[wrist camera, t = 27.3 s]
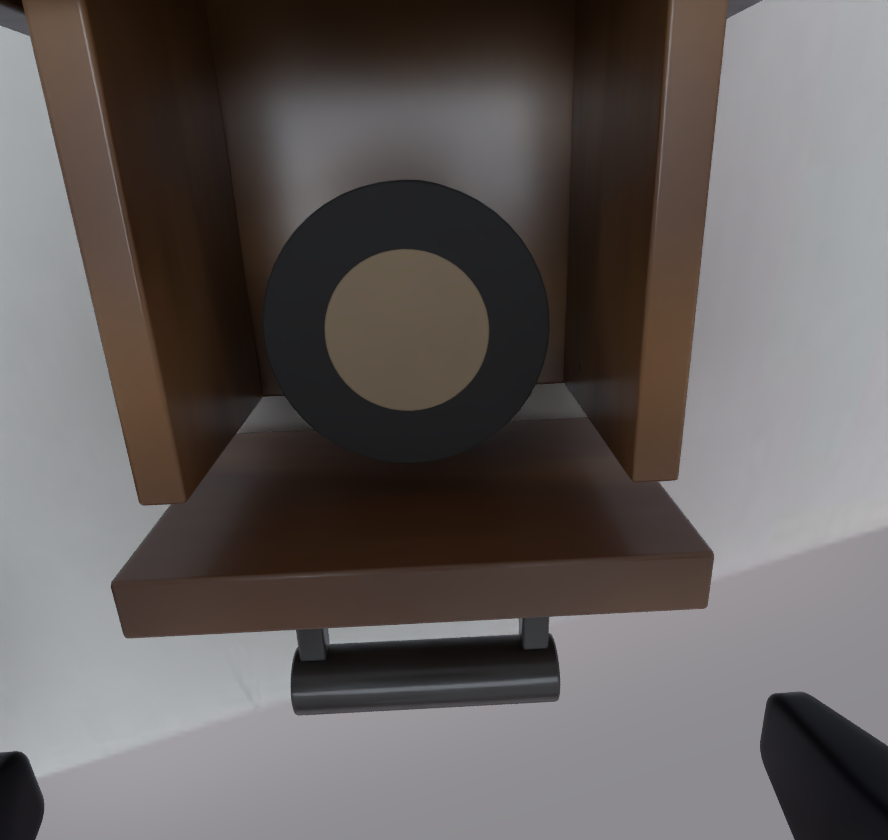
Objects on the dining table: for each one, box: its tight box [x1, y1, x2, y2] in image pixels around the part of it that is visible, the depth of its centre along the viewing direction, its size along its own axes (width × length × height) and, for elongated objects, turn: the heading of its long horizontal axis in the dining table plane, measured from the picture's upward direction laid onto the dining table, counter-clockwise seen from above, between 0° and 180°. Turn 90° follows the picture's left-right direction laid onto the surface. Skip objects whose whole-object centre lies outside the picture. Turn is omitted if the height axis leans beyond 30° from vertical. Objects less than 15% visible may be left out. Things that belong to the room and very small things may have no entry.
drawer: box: [22, 0, 728, 715], centre depth 13 cm, size 17×10×7 cm, turn 2°
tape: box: [262, 180, 550, 463], centre depth 13 cm, size 5×5×4 cm
